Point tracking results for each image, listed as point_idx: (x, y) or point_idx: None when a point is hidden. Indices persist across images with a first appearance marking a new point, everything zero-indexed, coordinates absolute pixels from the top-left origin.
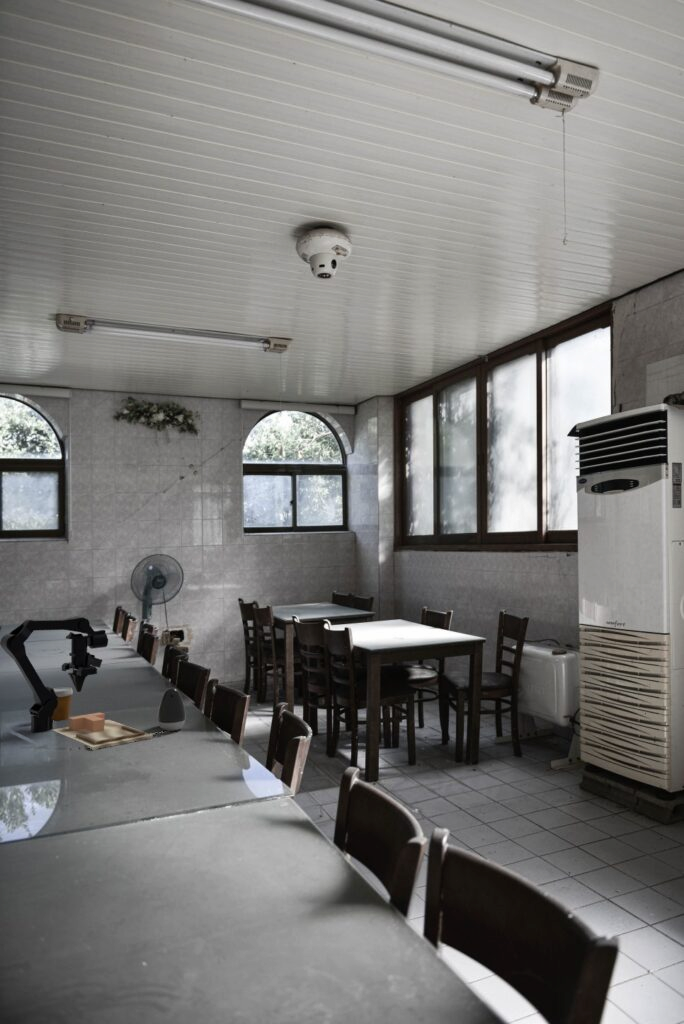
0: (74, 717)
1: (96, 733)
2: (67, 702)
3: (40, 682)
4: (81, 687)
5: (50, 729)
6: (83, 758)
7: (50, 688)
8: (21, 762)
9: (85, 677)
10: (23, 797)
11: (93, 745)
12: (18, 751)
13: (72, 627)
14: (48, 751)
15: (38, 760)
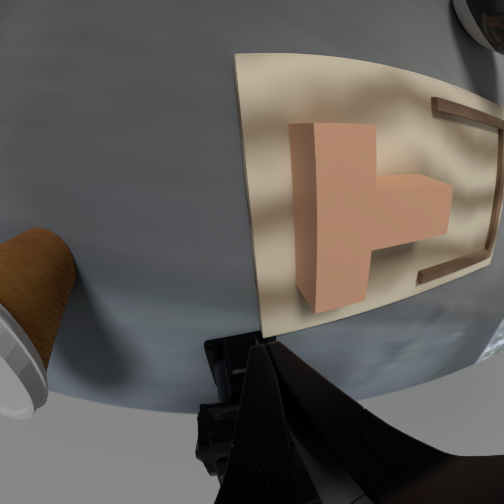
0: (334, 290)
1: None
2: (30, 292)
3: None
4: (313, 374)
5: (260, 342)
6: (493, 284)
7: (311, 500)
8: (434, 369)
9: (457, 457)
10: (497, 346)
11: (486, 259)
12: (380, 385)
13: None
14: (429, 338)
15: (449, 348)
